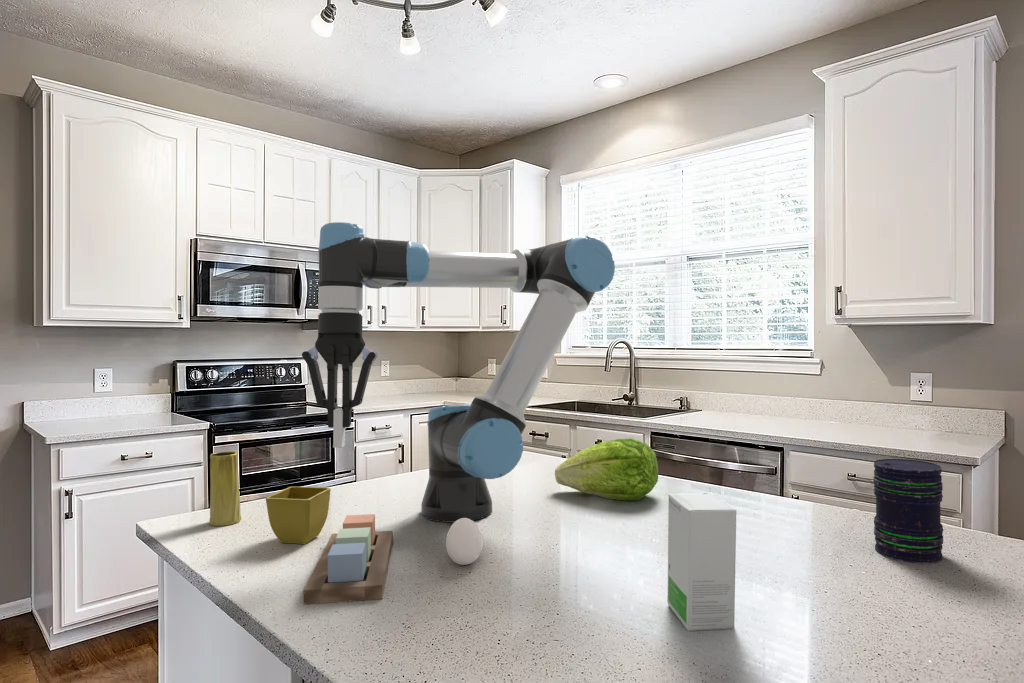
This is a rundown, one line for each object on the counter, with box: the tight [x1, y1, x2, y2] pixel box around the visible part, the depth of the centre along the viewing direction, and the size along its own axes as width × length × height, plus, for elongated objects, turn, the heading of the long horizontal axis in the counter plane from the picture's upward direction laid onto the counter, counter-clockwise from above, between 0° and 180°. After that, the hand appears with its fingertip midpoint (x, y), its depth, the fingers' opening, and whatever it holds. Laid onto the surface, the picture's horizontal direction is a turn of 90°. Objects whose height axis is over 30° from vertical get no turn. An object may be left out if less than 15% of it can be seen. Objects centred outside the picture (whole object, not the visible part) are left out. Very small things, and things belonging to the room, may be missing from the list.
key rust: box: [342, 513, 376, 545], centre depth 111 cm, size 5×5×4 cm
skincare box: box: [666, 491, 737, 632], centre depth 83 cm, size 8×7×16 cm
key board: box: [302, 530, 394, 605], centre depth 103 cm, size 11×26×2 cm, turn 7°
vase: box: [208, 450, 242, 527], centre depth 131 cm, size 6×6×14 cm
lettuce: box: [554, 438, 659, 502], centre depth 147 cm, size 14×24×15 cm
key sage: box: [336, 527, 371, 562], centre depth 103 cm, size 5×5×4 cm
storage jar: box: [872, 458, 944, 565], centre depth 106 cm, size 10×10×15 cm
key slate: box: [327, 543, 366, 583], centre depth 95 cm, size 5×5×4 cm
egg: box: [445, 518, 484, 566], centre depth 104 cm, size 6×6×8 cm
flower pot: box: [265, 486, 331, 545], centre depth 118 cm, size 9×9×9 cm
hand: (339, 446), depth 111 cm, fingers closed
